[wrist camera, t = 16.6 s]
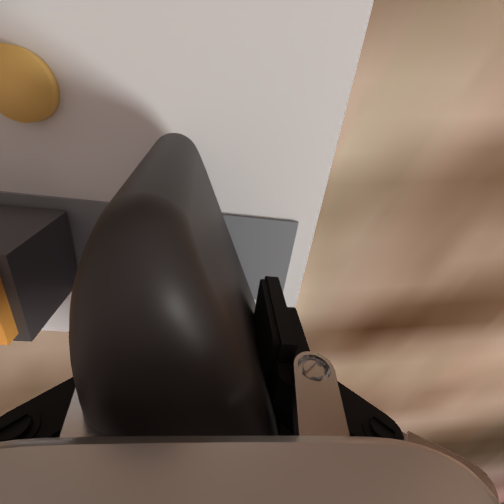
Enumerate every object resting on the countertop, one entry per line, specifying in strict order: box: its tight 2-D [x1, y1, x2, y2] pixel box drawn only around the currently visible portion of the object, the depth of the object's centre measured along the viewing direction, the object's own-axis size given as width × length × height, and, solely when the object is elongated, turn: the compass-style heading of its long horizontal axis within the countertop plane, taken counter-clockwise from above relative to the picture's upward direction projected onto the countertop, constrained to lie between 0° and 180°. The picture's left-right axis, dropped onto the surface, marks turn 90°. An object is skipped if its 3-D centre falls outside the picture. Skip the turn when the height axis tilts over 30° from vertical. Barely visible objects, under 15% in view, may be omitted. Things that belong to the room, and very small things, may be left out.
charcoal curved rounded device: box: [69, 133, 280, 436], centre depth 12 cm, size 16×5×9 cm, turn 16°
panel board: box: [0, 0, 374, 332], centre depth 12 cm, size 18×22×4 cm
